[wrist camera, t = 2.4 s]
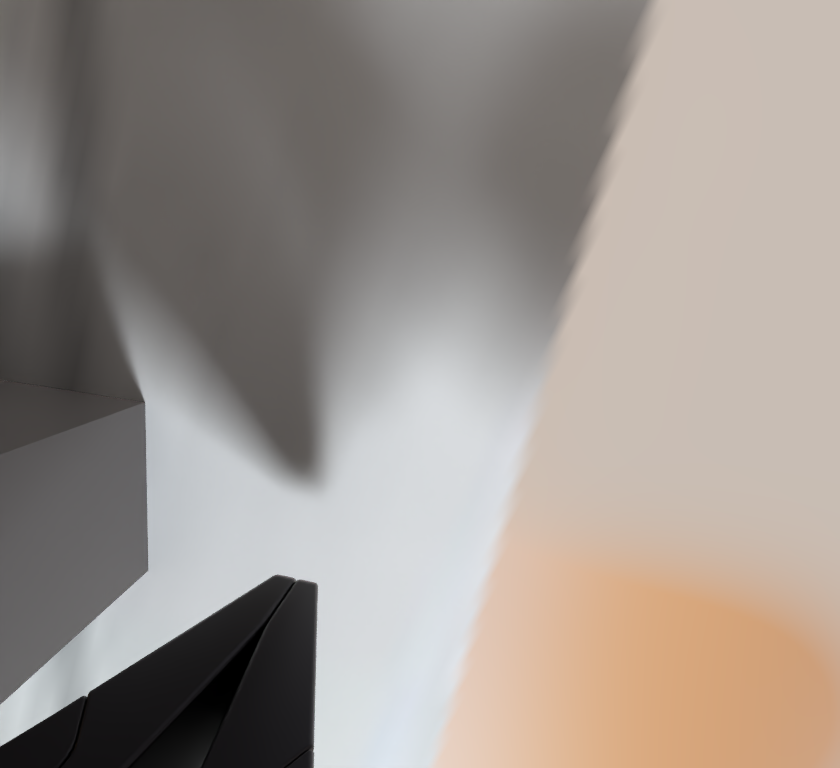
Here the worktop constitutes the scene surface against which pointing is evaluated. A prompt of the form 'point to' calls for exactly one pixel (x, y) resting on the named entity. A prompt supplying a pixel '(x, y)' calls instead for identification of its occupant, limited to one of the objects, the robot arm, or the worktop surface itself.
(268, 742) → the robot arm
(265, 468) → the worktop surface
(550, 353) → the worktop surface
